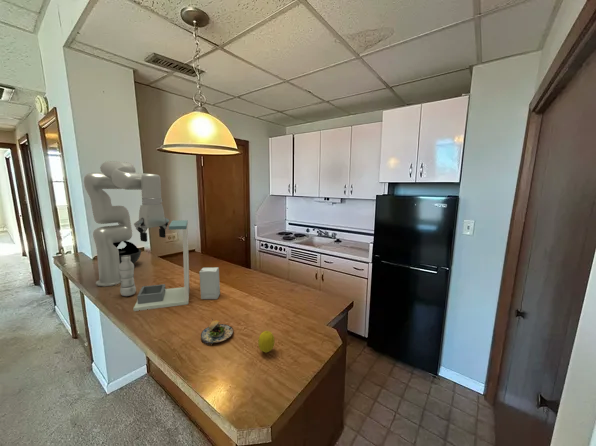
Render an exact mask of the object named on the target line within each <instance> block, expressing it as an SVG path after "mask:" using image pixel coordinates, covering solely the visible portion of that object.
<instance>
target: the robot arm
mask: <svg viewBox="0 0 596 446" xmlns="http://www.w3.org/2000/svg"><path fill="white" fill-rule="evenodd" d="M99 169H100V172H89V173H87V174H86V175H84V179H83V184H84V185H83V186H84V188H85V191H86V193H87V194H88V197H89V199H90V204H91V209H92V215H93V216H92V217H93V219H94V221H95V222H96V224H100V225H103V226H100V227H97V228H96V229H94V230H93V232H92V237H93V240H94V243H95V248H96V256H97V257H96V259H97V267H98V280H96V281H95V285H96V286H97V287H113V286H116V285H119V284H121V278H120V273H119V268H118V267H119V265H120V260H119V250H118V249H119V248H118V247H115V246H114V245H113V243H116V242H121V243H123V241H129V240H131V239H132V236H133V229H132V222H131V215H130V212H129V210H128V208H127V207H126V206H124V205H113V204H112V198H111V196H110V195H109V194H108V193H107V192H106V191H105V190H122V189H123V190H125V191H126V190H129V191H130V190H133V191H141V205H140V207H139V212H138V220H137V221H135V222H134V223H133V226H134V228H135V230H137V232H138V233H139V236H140V242H144V243H146V242H148V233H147V231H148V229H151V228H157V227H158V228H159V229H158V234H159V235H158V236H159V238H164V239H165V238H166V230H167V227H168V226H169V221H170V219H169V218H168V217H166V215H165V209H164V206H163V204H162V203H163V201H164V200H163V198H162V185H161V184H162V183H161V182H162V179H161V176H160V175H159V174H157V173H156V174H154V173H144V172H143V173H142V172H136V168H135V167H134V164H132V163H130V162H125V161H117V160H116V161H115V160H108V161H107V160H106V161H104V162H102V163H101V164H100V168H99ZM116 223H117V224H116ZM106 224H116V225H106ZM104 225H105V226H104Z"/></svg>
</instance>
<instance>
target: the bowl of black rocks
mask: <svg viewBox="0 0 596 446" xmlns="http://www.w3.org/2000/svg"><path fill="white" fill-rule="evenodd" d="M121 243H124V244H125V246H124V247H122V248H118V247H119V245H121ZM113 245H114V246H115V247H117V249H118V250H119V260H120V263H121V262H122V261H121V257H122V256H125V255H130V258H131V260H130V261H131V262H132V263H133V264H134V265H135V263H137V261H139V259H140V257H141V255H142V250H141V249H139V247H137V245H135V244H134V243H133V242H131V241H129V240H127V241H122V242H116V243H113Z"/></svg>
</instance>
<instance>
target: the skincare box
mask: <svg viewBox="0 0 596 446" xmlns="http://www.w3.org/2000/svg"><path fill="white" fill-rule="evenodd" d="M219 268H220V267H202V268H201V269H200V271H198V273H199V274H198V275H199V288H200V300H218V298H219V297H220V295H221V289H220V288H221V286H220V285H221V283H220V269H219Z"/></svg>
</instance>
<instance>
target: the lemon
mask: <svg viewBox="0 0 596 446" xmlns="http://www.w3.org/2000/svg"><path fill="white" fill-rule="evenodd" d="M257 340H258V342H257V344H258V348H259V350H260V351H261V352H263V353H265V354H266V353H270V352H271V351H272V350H273V349H274V347H275V336H274V334H273V333H272V332H271V331H269V330H264V331H262V332H261V333H260V335H259V337H258V339H257Z"/></svg>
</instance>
